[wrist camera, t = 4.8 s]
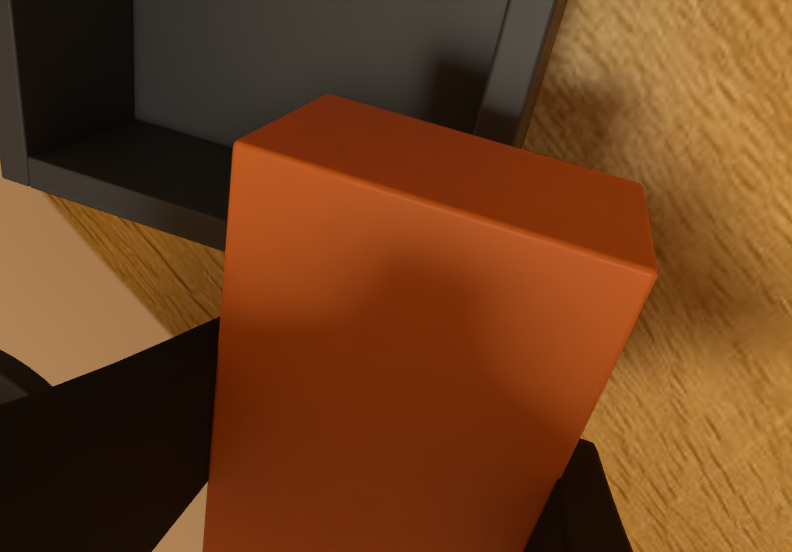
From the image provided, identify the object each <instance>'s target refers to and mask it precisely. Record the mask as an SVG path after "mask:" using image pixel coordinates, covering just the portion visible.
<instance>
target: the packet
mask: <svg viewBox="0 0 792 552" xmlns="http://www.w3.org/2000/svg"><path fill="white" fill-rule="evenodd" d="M657 276H658V270H657V264H656V258H655V252H654V246H653V240H652V234H651V228H650V222H649V216H648V210H647V204H646V198H645V192H644V186H643V185H641V184H640V183H637V182H633V181H630V180H626V179H623V178H619V177H616V176H612V175H609V174H606V173H602V172H599V171H595V170H592V169H588V168H585V167H581V166H578V165H574V164H571V163H568V162H564V161H561V160H557V159H554V158H550V157H547V156H543V155H540V154H536V153H533V152H530V151H526V150H523V149H519V148H516V147H512V146H509V145H505V144H502V143H498V142H495V141H491V140H488V139H485V138H481V137H478V136H474V135H471V134H467V133H464V132H460V131H457V130H453V129H450V128H447V127H443V126H440V125H436V124H433V123H429V122H426V121H422V120H419V119H415V118H412V117H409V116H405V115H402V114H398V113H395V112H391V111H388V110H384V109H381V108H377V107H374V106H370V105H367V104H364V103H360V102H357V101H353V100H350V99H346V98H343V97H339V96H336V95H332V94H326V95H324V96H322V97H320V98H318V99H317V100H315V101H313V102H311V103H309V104H307V105H305V106H303V107H301V108H299V109H297V110H295V111H293V112H291V113H289V114H287V115H285V116H283V117H281V118H279V119H277V120H275V121H273V122H271V123H269V124H267V125H266V126H264V127H262V128H260V129H258V130H256V131H254V132H252V133H250V134H248V135H246V136H244V137H242V138H240V139H238V140H236V141H235V143H234V146H233V155H232V168H231V181H230V195H229V208H228V221H227V235H226V248H225V261H224V275H223V288H222V301H221V314H220V328H219V341H218V354H217V368H216V381H215V394H214V408H213V421H212V434H211V447H210V461H209V474H208V487H207V501H206V514H205V528H204V542H203V552H523V551H524V549H525V547H526V545H527V543H528V540H529V538H530V536H531V534H532V532H533V530H534V528H535V526H536V524H537V522H538V519H539V517H540V515H541V513H542V511H543V509H544V507H545V505H546V503H547V501H548V499H549V496H550V494H551V492H552V490H553V488H554V486H555V484H556V482H557V480H558V478H559V479H560V478H561V477H562V474H563V472H564V470H565V468H566V466H567V464H568V462H569V460H570V458H571V456H572V454H573V451H574V449H575V447H576V445H577V443H578V441H579V439H580V437H581V435H582V433H583V431H584V429H585V426H586V424H587V422H588V420H589V418H590V416H591V414H592V412H593V410H594V408H595V406H596V404H597V401H598V399H599V397H600V395H601V393H602V391H603V389H604V387H605V385H606V383H607V381H608V379H609V376H610V374H611V372H612V370H613V368H614V366H615V364H616V362H617V360H618V358H619V356H620V354H621V351H622V349H623V347H624V345H625V343H626V341H627V339H628V337H629V335H630V333H631V331H632V329H633V326H634V324H635V322H636V320H637V318H638V316H639V314H640V312H641V310H642V308H643V306H644V304H645V301H646V299H647V297H648V295H649V293H650V291H651V289H652V287H653V285H654V283H655V281H656V279H657Z"/></svg>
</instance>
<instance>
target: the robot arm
mask: <svg viewBox="0 0 792 552" xmlns="http://www.w3.org/2000/svg"><path fill="white" fill-rule="evenodd" d="M219 328H220V317H218V318H216V319H213V320H211V321H209V322H206V323H204V324H202V325H200V326H197V327H195V328H193V329H191V330H189V331H186V332H184V333H182V334H180V335H178V336H175V337H173V338H171V339H169V340H167V341H164V342H162V343H160V344H157V345H155V346H153V347H150V348H148V349H146V350H143V351H141V352H139V353H137V354H134V355H132V356H130V357H127V358H125V359H123V360H120V361H118V362H116V363H113V364H111V365H108V366H105V367H103V368H100V369H98V370H95V371H92V372H90V373H87V374H85V375H82V376H79V377H77V378H75V379H72V380H69V381H66V382H64V383H62V384H59V385H56V386H53V387H51V388H48V389H45V390H42V391H39V392H37V393H34V394H31V395H28V396H25V397H22V398H19V399H16V400H13V401H9V402H6V403H3V404H0V552H152V550H153V549H154V548H155V547H156V546H157V544H158V543H159V542H160V541H161V539H162V538H163V537H164V535H165V534H166V533H167V532H168V530H169V529H170V528H171V527H172V525H173V524H174V523H175V522H176V520H177V519H178V518H179V517H180V515H181V514H182V513H183V512H184V510H185V509H186V508H187V507H188V505H189V504H190V503H191V502H192V500H193V499H194V498H195V496H196V495H197V494H198V493H199V492H200V490H201V489H202V488H203V486H204V485H205V484H206V483H207V481H208V474H209V461H210V447H211V434H212V421H213V408H214V394H215V381H216V368H217V354H218V341H219ZM523 552H633V550H632V548H631V545H630V543H629V540H628V538H627V535H626V533H625V530H624V527H623V525H622V522H621V519H620V516H619V514H618V511H617V508H616V505H615V503H614V500H613V497H612V494H611V491H610V488H609V485H608V482H607V479H606V476H605V473H604V470H603V467H602V464H601V461H600V458H599V454H598V451H597V449H596V447H595V445H594V443H592V442H589V441H586V440H584V439H581V438H580V439H579V441H578V443H577V445H576V447H575V449H574V451H573V454H572V456H571V458H570V460H569V462H568V464H567V466H566V468H565V470H564V472H563V474H562V477H561V478H560V479H559V478H558V480H557V482H556V484H555V486H554V488H553V490H552V492H551V494H550V496H549V499H548V501H547V503H546V505H545V507H544V509H543V511H542V513H541V515H540V517H539V519H538V522H537V524H536V526H535V528H534V530H533V532H532V534H531V536H530V538H529V540H528V543H527V545H526V547H525V549H524V551H523Z"/></svg>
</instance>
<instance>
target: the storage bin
mask: <svg viewBox="0 0 792 552" xmlns="http://www.w3.org/2000/svg"><path fill="white" fill-rule="evenodd" d="M566 3H567V0H0V162H1V169H2V176H3V178H5V179H8V180H11V181H14V182H17V183H20V184H23V185H26V186H31V187H32V188H34V189H37V190H40V191H43V192H46V193H49V194H52V195H55V196H58V197H61V198H64V199H67V200H71V201H74V202H77V203H80V204H83V205H86V206H89V207H92V208H95V209H98V210H101V211H104V212H107V213H110V214H113V215H116V216H119V217H122V218H125V219H128V220H131V221H134V222H137V223H140V224H143V225H146V226H149V227H152V228H155V229H158V230H161V231H164V232H167V233H170V234H173V235H176V236H179V237H182V238H185V239H188V240H191V241H194V242H197V243H200V244H203V245H206V246H209V247H212V248H215V249H218V250H221V251H224V252H225V248H226V235H227V221H228V208H229V195H230V181H231V168H232V155H233V146H234V143H235V141H236V140H238V139H240V138H242V137H244V136H246V135H248V134H250V133H252V132H254V131H256V130H258V129H260V128H262V127H264V126H266V125H267V124H269V123H271V122H273V121H275V120H277V119H279V118H281V117H283V116H285V115H287V114H289V113H291V112H293V111H295V110H297V109H299V108H301V107H303V106H305V105H307V104H309V103H311V102H313V101H315V100H317V99H318V98H320V97H322V96H324V95H326V94H332V95H336V96H339V97H343V98H346V99H350V100H353V101H357V102H360V103H364V104H367V105H370V106H374V107H377V108H381V109H384V110H388V111H391V112H395V113H398V114H402V115H405V116H409V117H412V118H415V119H419V120H422V121H426V122H429V123H433V124H436V125H440V126H443V127H447V128H450V129H453V130H457V131H460V132H464V133H467V134H471V135H474V136H478V137H481V138H485V139H488V140H491V141H495V142H498V143H502V144H505V145H509V146H512V147H516V148H519V149H522V146H523V143H524V139H525V136H526V133H527V130H528V126H529V123H530V120H531V117H532V113H533V110H534V107H535V104H536V100H537V97H538V94H539V91H540V87H541V84H542V81H543V78H544V74H545V71H546V68H547V65H548V61H549V58H550V55H551V52H552V48H553V45H554V42H555V38H556V35H557V32H558V29H559V25H560V22H561V19H562V16H563V12H564V9H565V6H566Z"/></svg>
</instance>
